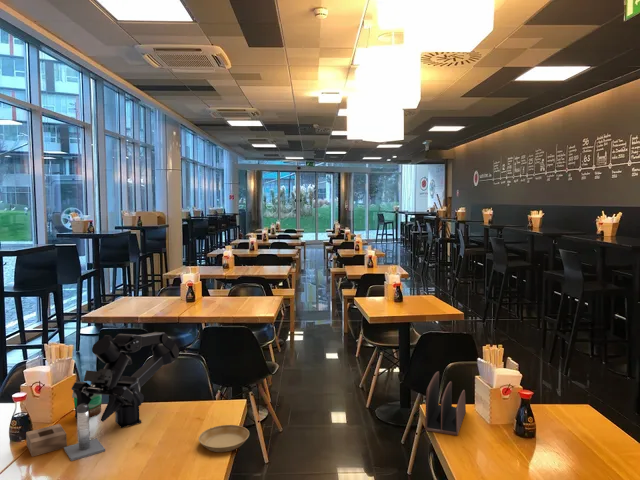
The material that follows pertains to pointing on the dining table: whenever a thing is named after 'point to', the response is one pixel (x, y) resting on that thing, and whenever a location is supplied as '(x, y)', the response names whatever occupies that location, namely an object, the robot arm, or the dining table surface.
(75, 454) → the slate pad
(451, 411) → the letter holder
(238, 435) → the plant saucer
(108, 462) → the dining table surface
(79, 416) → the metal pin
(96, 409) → the food container
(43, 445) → the block
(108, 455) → the dining table surface
